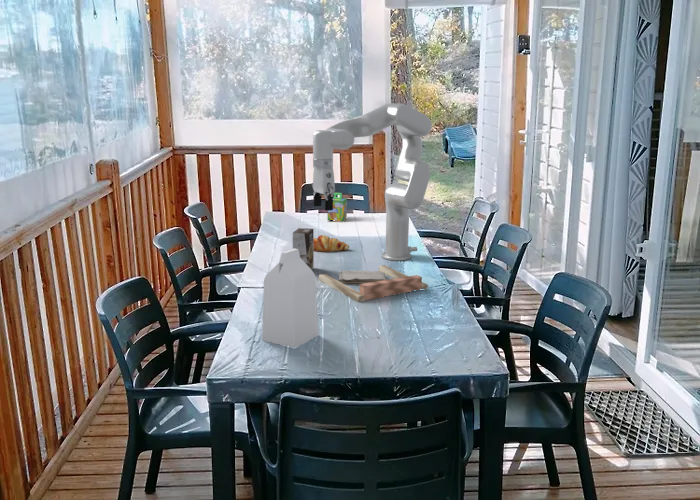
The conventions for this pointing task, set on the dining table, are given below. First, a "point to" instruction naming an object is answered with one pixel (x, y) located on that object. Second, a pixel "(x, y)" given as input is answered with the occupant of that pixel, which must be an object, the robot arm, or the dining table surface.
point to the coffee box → (304, 245)
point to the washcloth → (360, 277)
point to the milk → (290, 302)
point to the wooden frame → (378, 285)
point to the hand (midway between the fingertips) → (323, 208)
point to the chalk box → (338, 208)
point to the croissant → (328, 244)
